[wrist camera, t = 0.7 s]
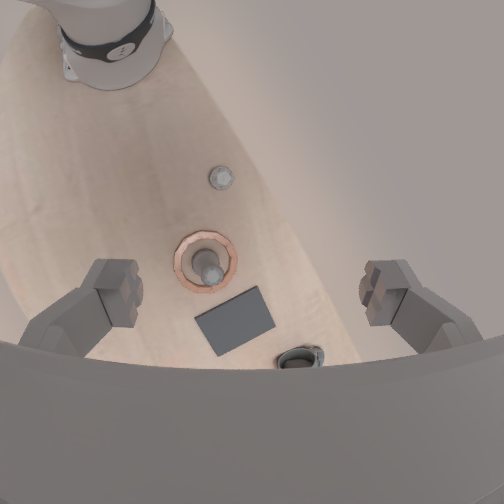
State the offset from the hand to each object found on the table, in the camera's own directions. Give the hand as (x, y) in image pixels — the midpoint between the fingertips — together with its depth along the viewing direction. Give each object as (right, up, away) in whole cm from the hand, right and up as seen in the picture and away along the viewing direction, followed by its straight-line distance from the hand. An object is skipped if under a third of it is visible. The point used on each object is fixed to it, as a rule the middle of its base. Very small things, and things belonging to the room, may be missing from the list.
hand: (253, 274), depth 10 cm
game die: (-5, +12, +36) cm, 38 cm away
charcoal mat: (-3, -12, +42) cm, 44 cm away
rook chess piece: (-8, -1, +38) cm, 39 cm away
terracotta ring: (-8, -1, +38) cm, 39 cm away
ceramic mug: (+9, -22, +49) cm, 54 cm away
